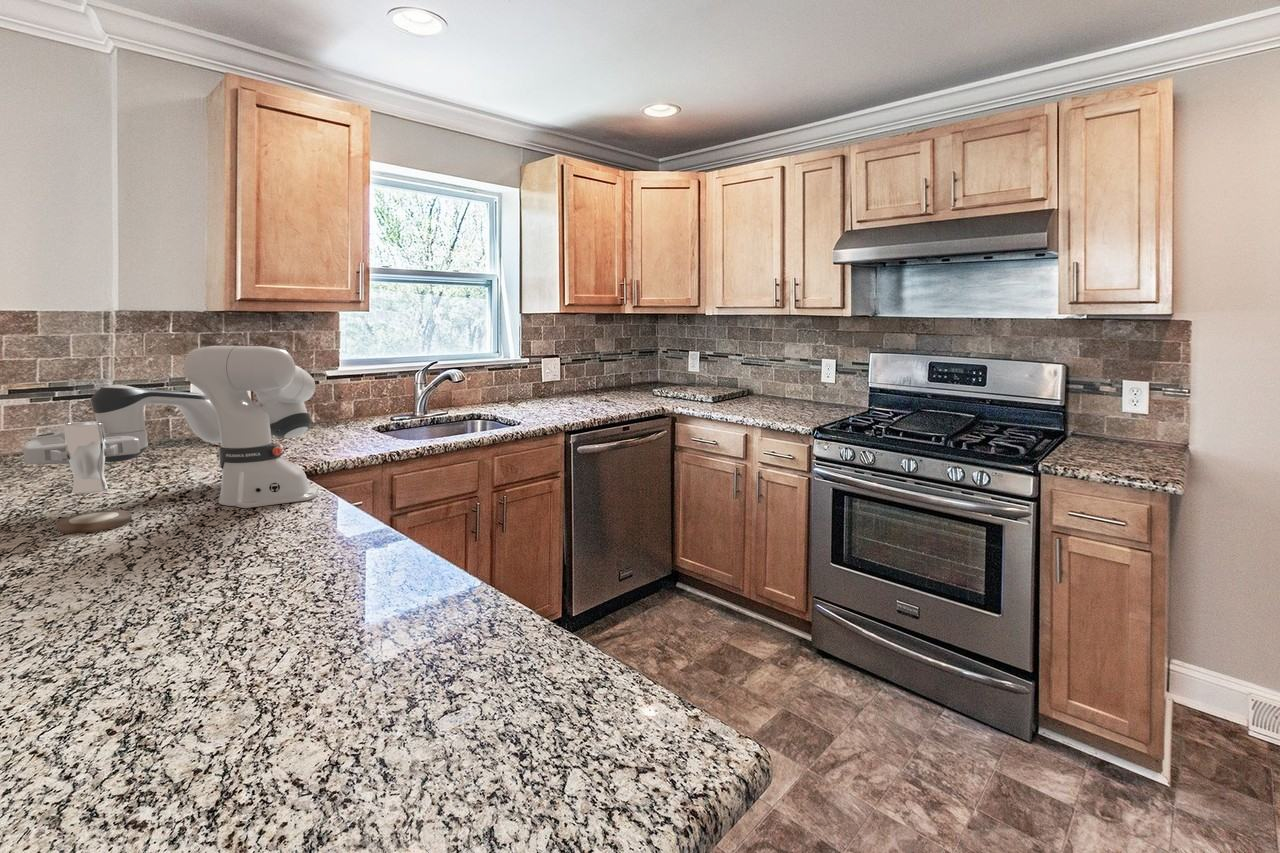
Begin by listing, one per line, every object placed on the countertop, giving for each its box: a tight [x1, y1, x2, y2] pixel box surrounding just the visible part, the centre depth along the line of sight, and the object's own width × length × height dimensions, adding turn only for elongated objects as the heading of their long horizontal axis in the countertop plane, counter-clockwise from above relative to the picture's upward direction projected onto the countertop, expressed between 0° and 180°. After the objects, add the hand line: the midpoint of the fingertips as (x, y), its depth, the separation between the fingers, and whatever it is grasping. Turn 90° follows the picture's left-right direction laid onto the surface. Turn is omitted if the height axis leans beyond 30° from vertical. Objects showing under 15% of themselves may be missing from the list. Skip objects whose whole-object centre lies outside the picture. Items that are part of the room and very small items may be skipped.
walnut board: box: [55, 509, 133, 535], centre depth 149 cm, size 13×13×2 cm
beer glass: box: [63, 421, 109, 495], centre depth 147 cm, size 7×7×15 cm
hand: (86, 454), depth 146 cm, fingers closed on beer glass, 6 cm apart
